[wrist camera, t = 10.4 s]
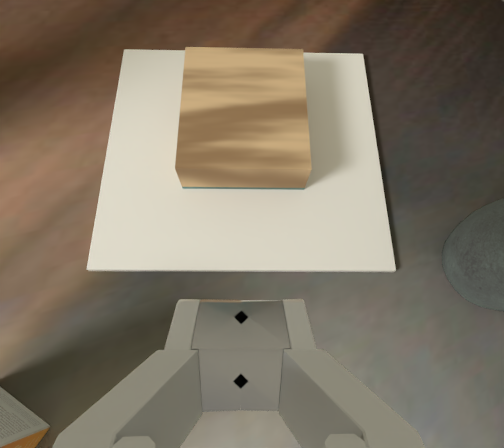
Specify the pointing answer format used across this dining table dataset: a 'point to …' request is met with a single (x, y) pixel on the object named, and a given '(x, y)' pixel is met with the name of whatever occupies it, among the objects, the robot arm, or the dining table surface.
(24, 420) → the small box
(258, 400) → the robot arm
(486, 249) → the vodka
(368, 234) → the board
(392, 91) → the dining table surface
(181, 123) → the wooden block
